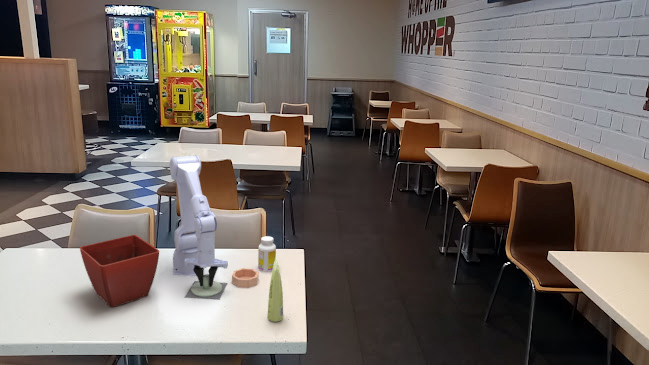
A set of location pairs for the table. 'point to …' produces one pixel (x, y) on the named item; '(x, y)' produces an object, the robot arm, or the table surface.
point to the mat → (215, 297)
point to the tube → (275, 295)
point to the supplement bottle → (266, 254)
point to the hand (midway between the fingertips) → (206, 285)
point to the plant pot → (121, 268)
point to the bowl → (245, 278)
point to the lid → (206, 288)
